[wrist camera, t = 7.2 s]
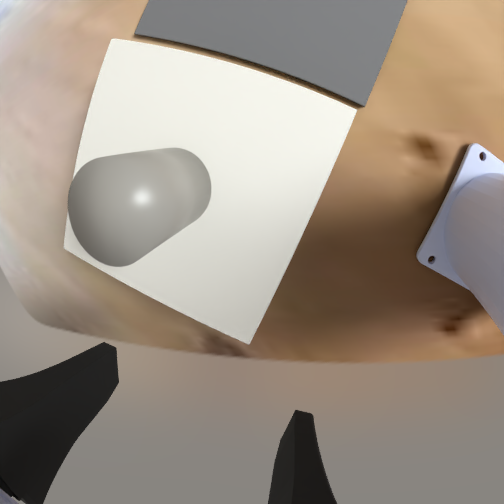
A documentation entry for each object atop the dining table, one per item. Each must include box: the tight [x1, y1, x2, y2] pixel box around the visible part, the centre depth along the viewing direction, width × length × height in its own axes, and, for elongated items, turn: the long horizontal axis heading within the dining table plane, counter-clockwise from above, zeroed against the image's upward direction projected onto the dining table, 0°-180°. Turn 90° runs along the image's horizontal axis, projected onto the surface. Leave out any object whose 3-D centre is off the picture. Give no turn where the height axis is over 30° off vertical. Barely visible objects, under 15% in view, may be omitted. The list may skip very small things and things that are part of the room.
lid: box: [64, 38, 357, 344], centre depth 12 cm, size 12×12×6 cm
